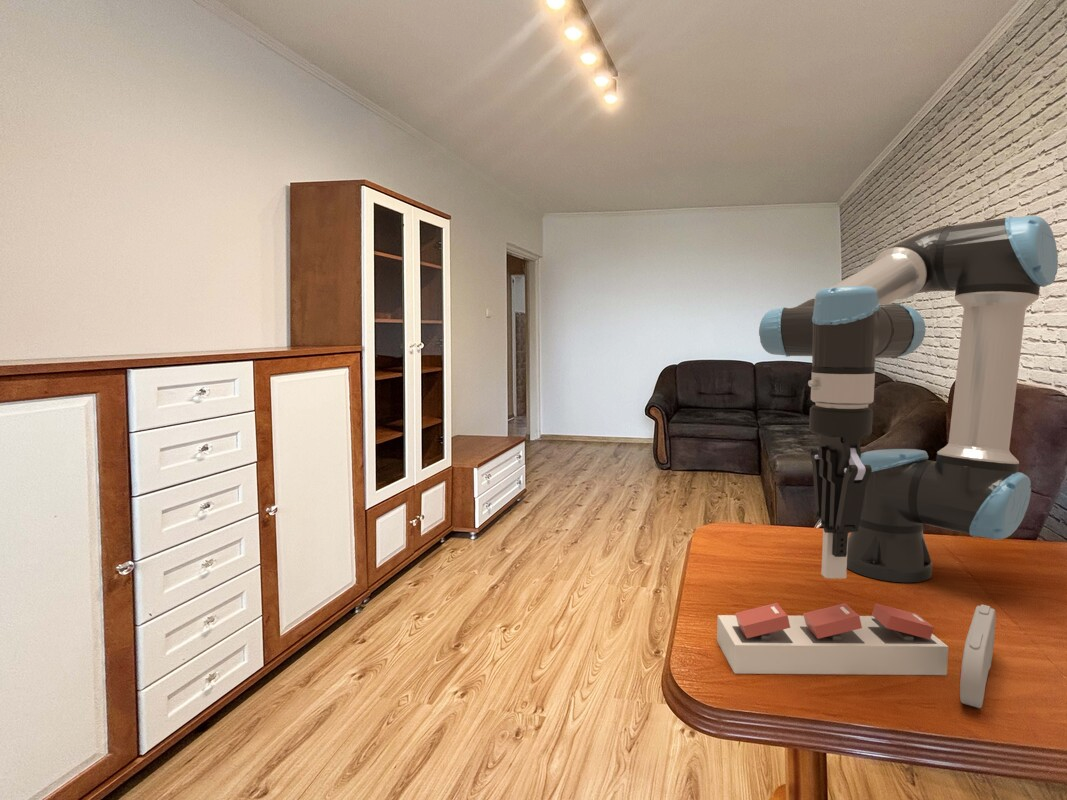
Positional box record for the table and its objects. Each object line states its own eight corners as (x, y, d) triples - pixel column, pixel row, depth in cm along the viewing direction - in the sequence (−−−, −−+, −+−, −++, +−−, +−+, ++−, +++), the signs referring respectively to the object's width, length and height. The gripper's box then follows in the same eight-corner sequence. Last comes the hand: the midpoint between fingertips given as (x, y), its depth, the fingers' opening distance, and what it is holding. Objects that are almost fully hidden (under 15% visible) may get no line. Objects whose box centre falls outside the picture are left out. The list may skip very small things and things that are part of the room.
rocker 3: (912, 625, 88) (917, 613, 88) (929, 639, 84) (934, 626, 84) (871, 614, 88) (875, 602, 88) (886, 628, 84) (891, 615, 84)
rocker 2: (848, 614, 88) (845, 602, 88) (862, 628, 84) (859, 614, 84) (806, 625, 88) (802, 612, 88) (817, 638, 84) (814, 625, 84)
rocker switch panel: (908, 642, 92) (910, 611, 92) (946, 675, 83) (948, 641, 83) (716, 640, 93) (717, 610, 93) (734, 673, 84) (735, 640, 84)
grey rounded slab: (973, 650, 90) (977, 595, 89) (993, 655, 88) (997, 599, 88) (956, 713, 75) (960, 647, 74) (979, 721, 74) (983, 653, 73)
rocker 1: (779, 614, 88) (776, 601, 88) (790, 627, 84) (787, 614, 84) (738, 624, 89) (734, 612, 88) (746, 638, 85) (743, 625, 84)
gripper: (793, 399, 90) (788, 559, 92) (834, 410, 77) (826, 596, 79) (846, 399, 89) (839, 559, 92) (896, 410, 76) (886, 596, 79)
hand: (833, 576), depth 85 cm, fingers closed
